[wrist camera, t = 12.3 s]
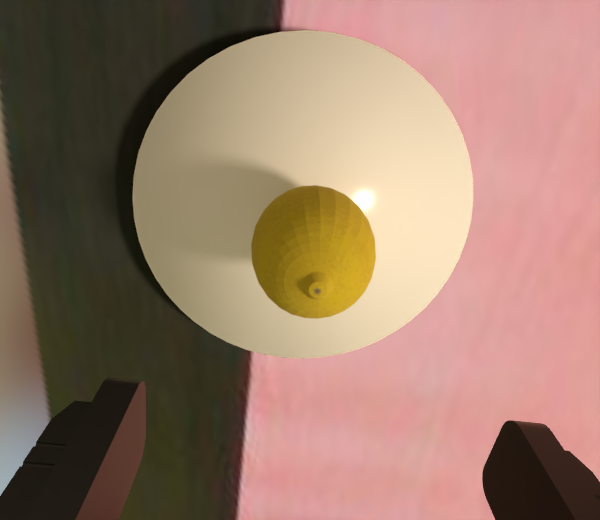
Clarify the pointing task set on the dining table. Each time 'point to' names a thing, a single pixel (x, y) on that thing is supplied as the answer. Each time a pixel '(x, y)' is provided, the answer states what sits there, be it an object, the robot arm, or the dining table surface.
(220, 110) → the saucer
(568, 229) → the dining table surface
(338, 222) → the lemon
